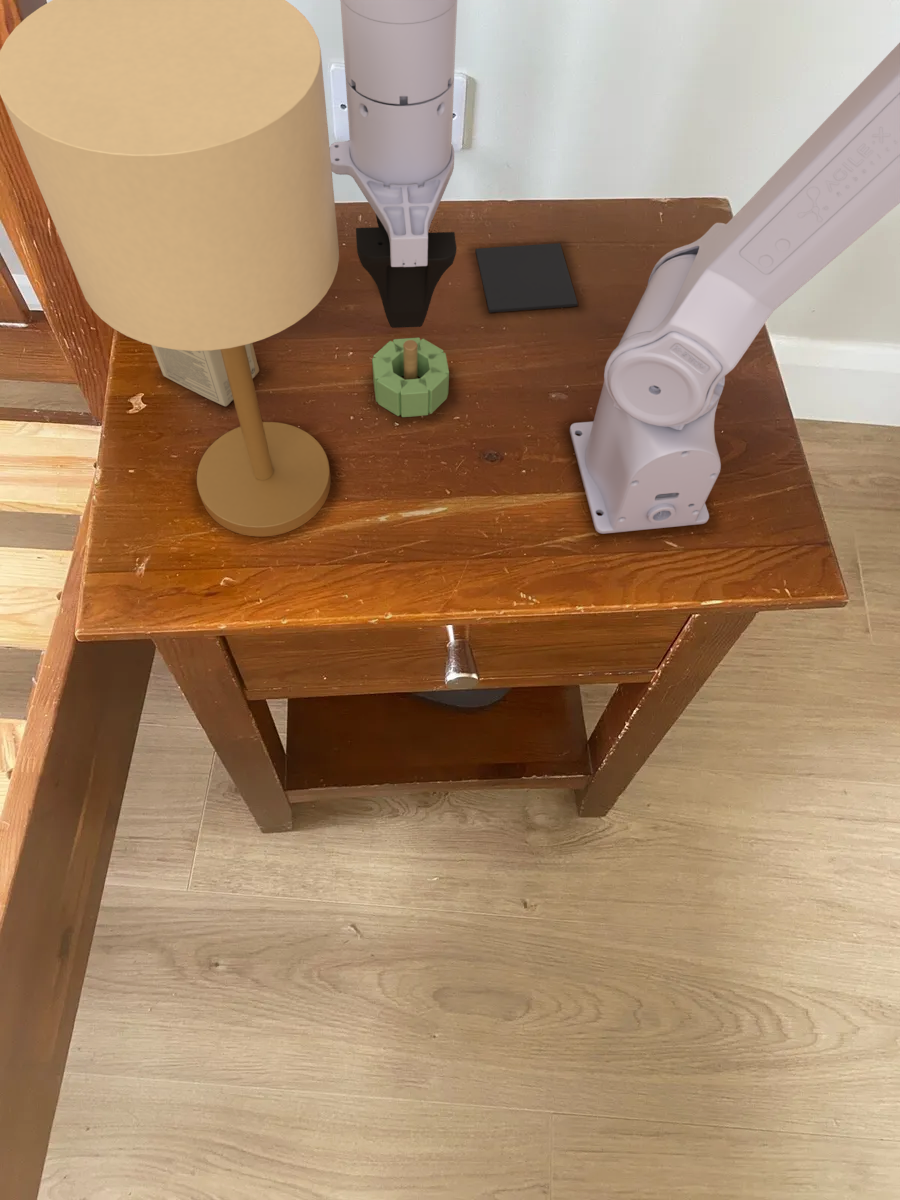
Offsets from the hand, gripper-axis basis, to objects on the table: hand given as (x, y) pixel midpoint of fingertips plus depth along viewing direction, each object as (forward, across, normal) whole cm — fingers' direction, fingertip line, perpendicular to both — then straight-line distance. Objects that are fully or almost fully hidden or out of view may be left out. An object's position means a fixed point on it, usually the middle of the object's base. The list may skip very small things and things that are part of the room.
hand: (402, 281), depth 58 cm
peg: (+10, +1, 0) cm, 10 cm away
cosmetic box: (+10, -2, -14) cm, 17 cm away
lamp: (+10, +9, -10) cm, 16 cm away
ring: (+10, +1, 0) cm, 10 cm away
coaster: (+9, -11, +11) cm, 18 cm away
